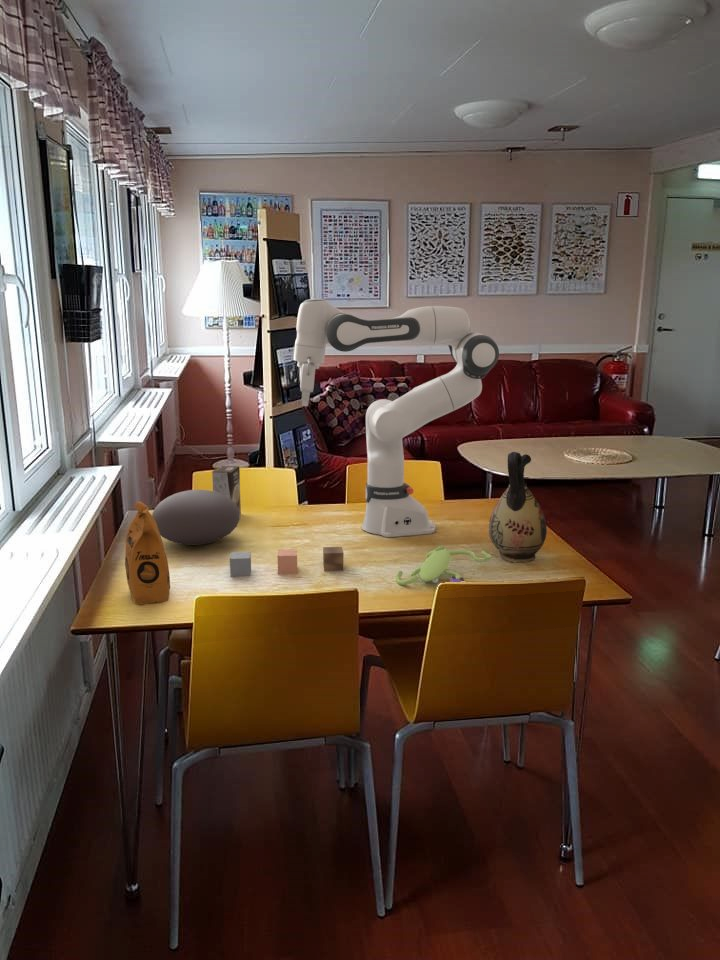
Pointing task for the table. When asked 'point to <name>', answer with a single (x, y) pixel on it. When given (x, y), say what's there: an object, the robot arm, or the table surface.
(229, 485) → the coffee box
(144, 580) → the coffee package
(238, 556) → the slate block
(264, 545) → the table surface
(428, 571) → the figurine
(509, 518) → the ceramic jug
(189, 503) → the flattened ellipsoid
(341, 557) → the walnut block
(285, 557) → the terracotta block
